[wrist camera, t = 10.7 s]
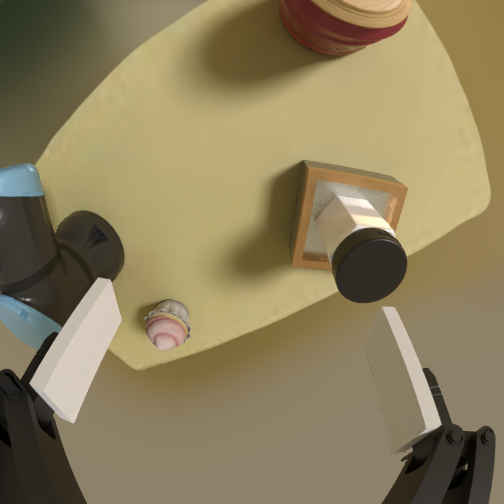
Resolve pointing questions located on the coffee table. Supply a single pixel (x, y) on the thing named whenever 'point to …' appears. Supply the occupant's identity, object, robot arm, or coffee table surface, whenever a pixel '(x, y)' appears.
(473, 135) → the coffee table surface
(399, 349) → the robot arm
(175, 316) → the cupcake
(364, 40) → the canister
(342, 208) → the jar
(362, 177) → the small square box
